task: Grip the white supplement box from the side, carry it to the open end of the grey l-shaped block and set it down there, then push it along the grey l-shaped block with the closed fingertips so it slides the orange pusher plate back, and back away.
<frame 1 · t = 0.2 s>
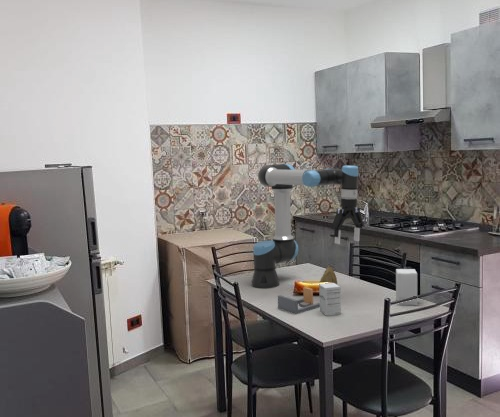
hand: (347, 242, 247), 27 cm above the table, tool pointing down, fingers open, 13 cm apart
pusher: (305, 297, 241), point 4 cm above the table, slide at 0.0 cm
rock: (328, 286, 274), on the table
supplement box 2: (406, 302, 240), on the table
grey l-shaped block: (303, 306, 240), on the table
supplement box: (330, 313, 230), on the table
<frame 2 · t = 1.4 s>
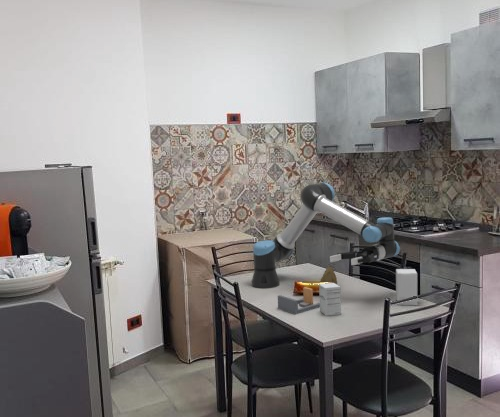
hand: (340, 260, 233), 22 cm above the table, tool horizontal, fingers open, 13 cm apart
nothing on the table moved.
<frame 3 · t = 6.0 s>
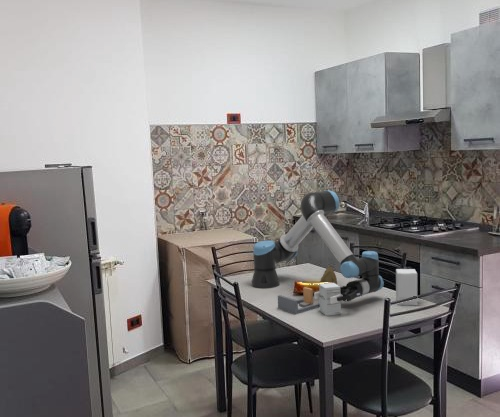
hand: (322, 298, 226), 8 cm above the table, tool horizontal, fingers closed on supplement box, 9 cm apart
supplement box: (330, 313, 230), on the table, touching gripper
everything else where it was.
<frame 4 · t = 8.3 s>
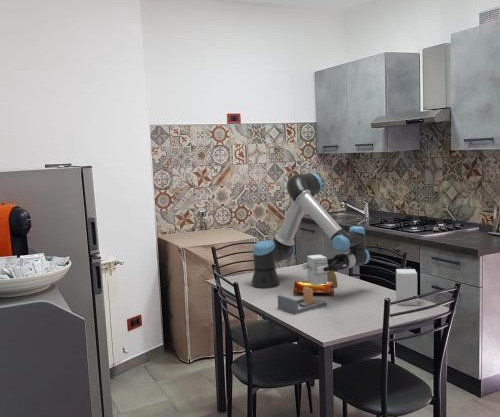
hand: (310, 268, 239), 18 cm above the table, tool horizontal, fingers closed on supplement box, 9 cm apart
supplement box: (317, 283, 242), point 10 cm above the table, touching gripper
everything else where it was.
when the fingers open (8 cm above the table, at t = 10.5 s): supplement box drops 1 cm, on the table.
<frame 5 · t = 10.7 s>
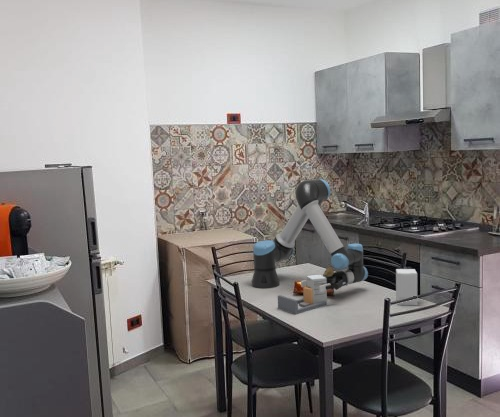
hand: (310, 286, 242), 8 cm above the table, tool horizontal, fingers open, 11 cm apart
supplement box: (317, 303, 245), on the table
everything else where it was.
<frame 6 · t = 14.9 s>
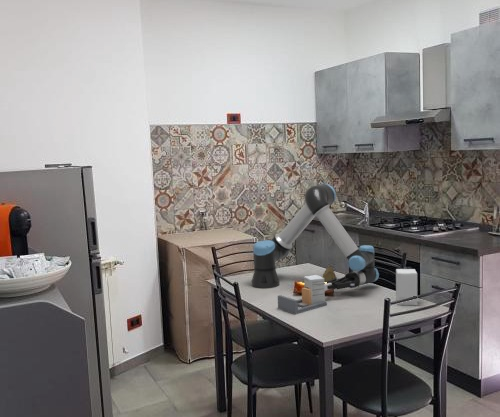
hand: (321, 288, 246), 6 cm above the table, tool horizontal, fingers closed
pusher: (303, 297, 240), point 4 cm above the table, slide at 1.0 cm
supplement box: (314, 303, 244), on the table
everything else where it was.
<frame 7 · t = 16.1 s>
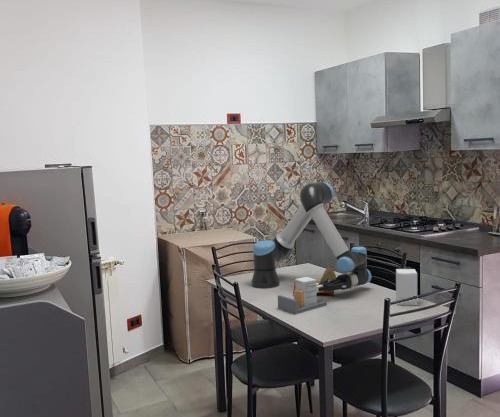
hand: (312, 290, 243), 6 cm above the table, tool horizontal, fingers closed
pusher: (296, 299, 237), point 4 cm above the table, slide at 5.9 cm, touching supplement box
supplement box: (306, 305, 241), on the table, touching gripper, pusher
everything else where it was.
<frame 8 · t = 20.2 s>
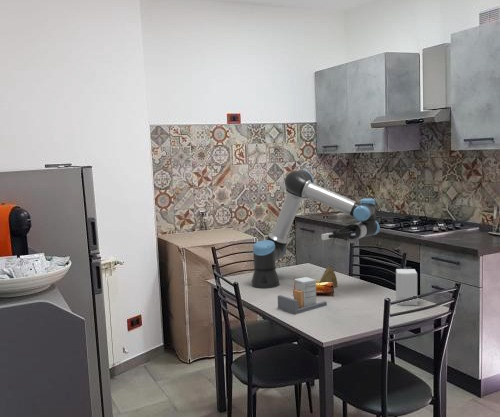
hand: (322, 237, 249), 30 cm above the table, tool horizontal, fingers closed
pusher: (295, 300, 237), point 4 cm above the table, slide at 6.1 cm
supplement box: (305, 306, 241), on the table
everything else where it was.
at the end: pusher slide at 6.1 cm; supplement box inside the target area (0.4 cm from its centre), on the table; supplement box tilted 0° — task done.
